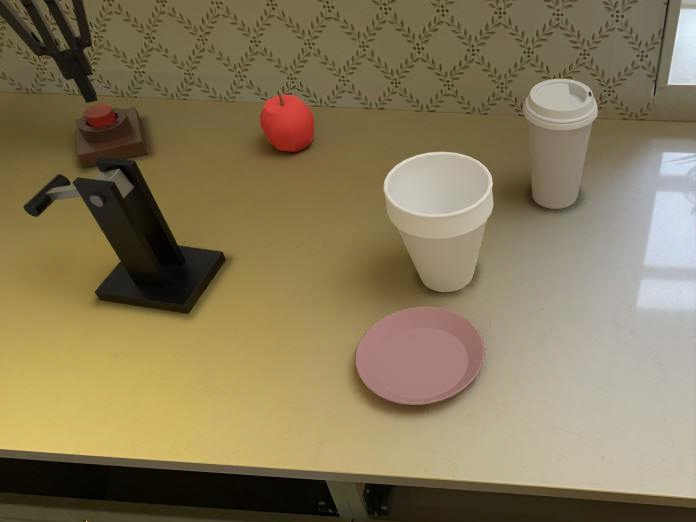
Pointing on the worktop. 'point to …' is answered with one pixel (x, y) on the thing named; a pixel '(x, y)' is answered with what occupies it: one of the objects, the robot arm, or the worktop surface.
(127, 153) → the button block
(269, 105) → the apple
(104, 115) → the button
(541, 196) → the coffee cup
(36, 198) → the lever
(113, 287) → the bracket
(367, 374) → the plate
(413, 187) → the cup
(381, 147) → the worktop surface
